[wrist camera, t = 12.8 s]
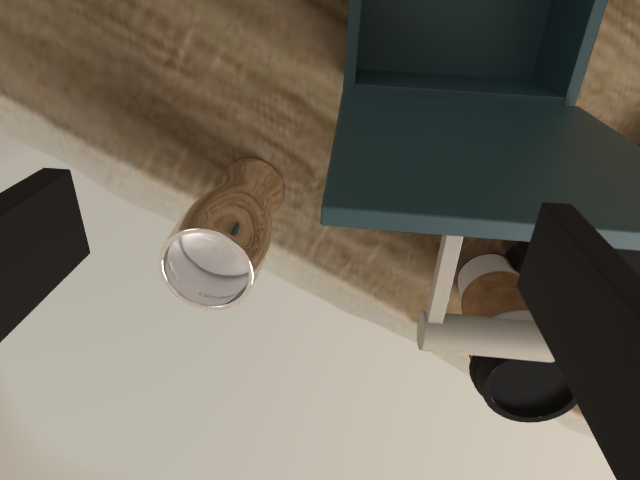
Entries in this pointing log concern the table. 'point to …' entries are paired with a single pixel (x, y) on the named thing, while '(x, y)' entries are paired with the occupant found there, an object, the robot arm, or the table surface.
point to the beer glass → (223, 238)
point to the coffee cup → (501, 373)
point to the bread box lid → (476, 190)
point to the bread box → (472, 48)
